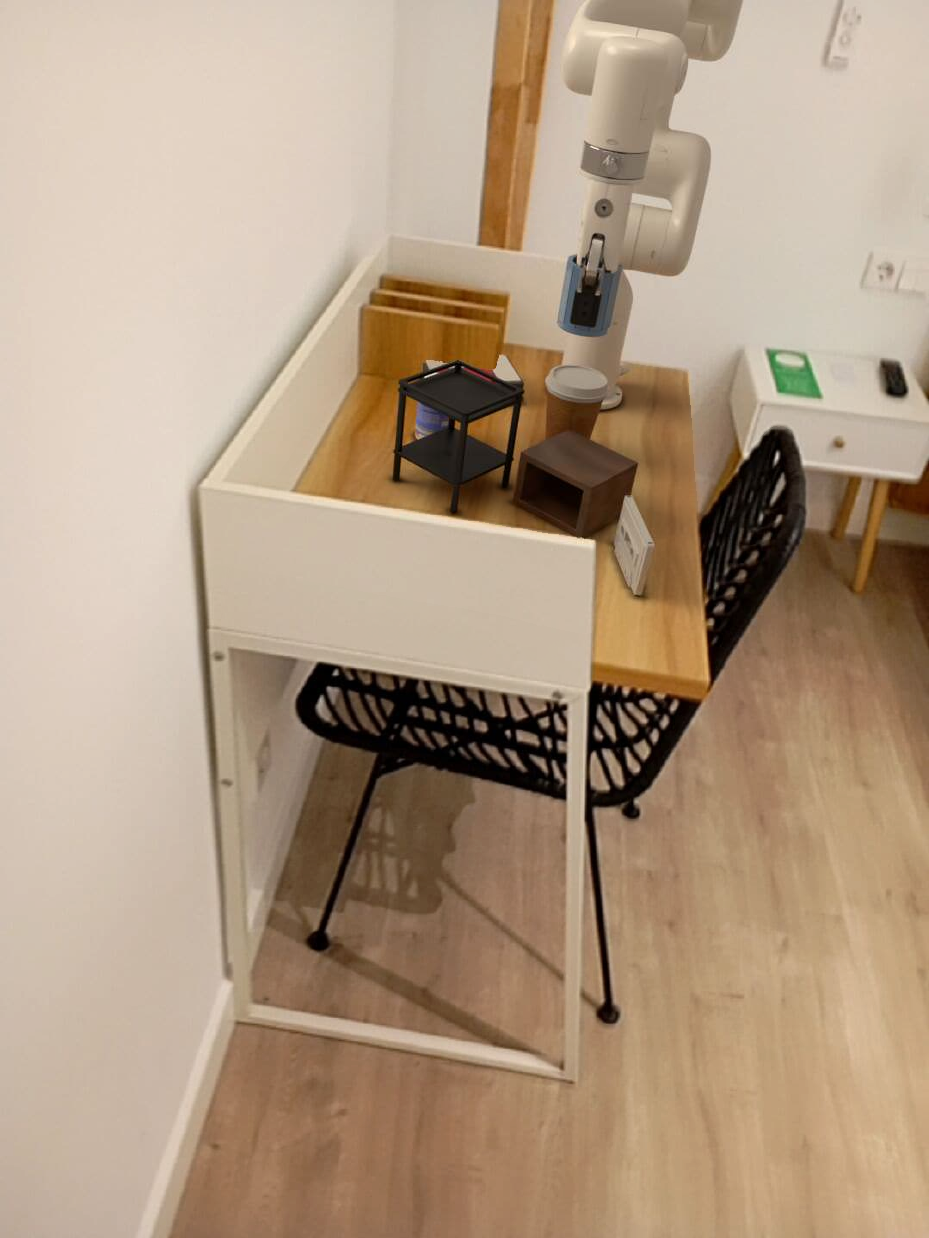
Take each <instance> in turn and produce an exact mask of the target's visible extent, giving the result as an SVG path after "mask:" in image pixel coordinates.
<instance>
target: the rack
mask: <svg viewBox="0 0 929 1238" xmlns="http://www.w3.org/2000/svg"><path fill="white" fill-rule="evenodd" d="M453 366H455V367H454V368H452V369H449V370H446V371H443V372H440V373H438V374H435V375H432V376H429V377H426V378H424V379H422V377H425V376H428V375H431V374H433V373H436V372H439V371H442V370H445V369H447V368H450V367H453ZM462 367H465V368H467V369H469V370H471V371H473V372H475V373H477V374H480V375H482V376H484V377H486V378H488V379H490V380H492V381H495V382H497V383H499V384H501V385H503V386H505V387H507V388H509V389H512V390H514V391H516V392H511V391H509V390H507V389H505V388H503V387H501V386H499V385H497V384H494V383H492V382H490V381H488V380H486V379H484V378H482V377H479V376H477V375H475V374H473V373H471V372H469V371H467V370H465V369H462ZM398 385H399V387H397V392H398V403H397V414H396V417H397V418H396V427H395V442H394V443H395V444H394V449H393V451H392V453H393V467H392V481H393V482H399V481H400V480H401V479H400V478H401V466H402V459H404V460H406V461H408V462H409V463H411V464H413V465H414V466H417V467H419V468H420V469H422V470H424V471H426V472H428V473H429V474H431V475H432V476H433V475H434V476H435V477H437V478H439V479H440V480H443V482H446V483H447V484H450V485H452V491H451V500H450V508H449V512H450V514H451V515H456V514H457V513H458V509H459V502H460V493H461V487H462V486H463V485H465V484H468V483H470V482H472V481H474V480H476V479H478V478H480V477H483V476H485V475H487V474H489V473H491V472H494V471H496V470H497V469H499V468H501V467H503V473H502V479H501V484H500V487H501V488H502V489H508V488H509V486H510V485H509V484H510V478H511V472H512V466H513V462H514V461H515V457H514V452H515V446H516V440H517V434H518V426H519V420H520V414H521V410H522V409H521V407H522V402H523V401H524V396H523V395H524V394H525V391H526V390H525V389H524V388H523V389H521V388H519V387H517V386H514V385H512V384H510V383H508V382H506V381H504V380H501V379H499V378H497V377H495V376H493V375H491V374H489V373H486V372H484V371H482V370H480V369H478V368H476V367H473V366H471V365H469V364H467V363H465V362H463V361H461V360H456V361H453V362H450V363H447V364H444V365H442V366H439V367H436V368H433V369H430V370H427V371H425V372H422V373H421V372H419V373H416V374H414V375H411V376H408V377H405V378H402V379H399V380H398ZM522 396H523V397H522ZM407 397H408V398H410V399H412V400H414V401H415V402H417V403H418V402H420V403H422V404H424V405H426V406H428V407H430V408H432V409H434V410H436V411H438V412H439V413H441V414H443V415H445V416H447V417H449V422H448V427H447V428H445V429H442V430H440V431H437V432H435V433H433V434H430V435H428V436H425V437H423V438H420V439H416V440H413V441H411V442H409V443H406V444H404V445H403V443H404V432H405V431H404V430H405V418H406V407H407ZM512 406H513V407H512ZM510 407H512V413H511V419H510V426H509V432H508V439H507V444H506V445H507V447H506V452H503V451H501V450H499V449H497V448H495V447H494V446H491V445H490V444H487V443H486V442H484V441H481V440H480V439H478V438H476V437H474V436H472V435H470V434H468V430H469V424H471V423H474V422H476V421H479V420H481V419H484V418H486V417H489V416H490V415H493V414H495V413H497V412H500V411H502V410H505V409H507V408H510ZM456 422H457V423H459V429H457V428H456Z"/></svg>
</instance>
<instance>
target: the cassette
mask: <svg viewBox="0 0 929 1238" xmlns="http://www.w3.org/2000/svg"><path fill="white" fill-rule="evenodd" d="M613 546H614V548H615V549H614V550H613V552H614V555H615V557H616V559H617V562H618V564H619V567H620V569H621V573H622V574H623V578H624V580H625V582H626V584H627V586H628V588H629V589H631V590H632V593H633V596H643V591H644V588H645V583H646V579H647V577H648V573H649V568H650V565H651V561H652V559H653V558H652V557H653V553H654V549H655V543H654V540H653V538H652V536H651V534H650V532H649V529H648V528H647V525H646V523H645V521H644V519H643V517H642V515H641V513H640V510H639V508H638V505H637V503H636V501H635V499H634V497H633V495H631V496H625V498H624V502H623V506H622V511H621V515H620V517H619V519H618V523H617V528H616V532H615V536H614V541H613Z"/></svg>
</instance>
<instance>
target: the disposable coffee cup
mask: <svg viewBox="0 0 929 1238" xmlns="http://www.w3.org/2000/svg"><path fill="white" fill-rule="evenodd" d="M544 383H545V385H546V387H545V388H546V389H547V390H546V391H547V392H546V409H545V410H546V411H545V414H546V415H545V436H544V441H545V440H548V439H550V438H552V437H554V436H556V435H558V434H560V433H562V432H565V431H567V430H571V431H573V432H575V433H577V434H579V435H582V436H584V437H586V438H588V439H590V440H591V438H592V437H591V436H592V435H593V434H592V433H593V432H594V429H595V426H596V422H597V419H598V417H599V414H600V411H601V410H600V408H601V405H602V402H603V400H604V398H605V397H606V395H607V394H608V392H609V387H608V381H607V378H606V376H605V375H604V374H602V373H601V372H599V371H597V370H595V369H592V368H589V367H586V366H581V365H571V364H570V365H562V364H559V365H556V366H554V367H552V368H551V369H550V370H549V374H548V375H547V376H546V378H545V380H544Z"/></svg>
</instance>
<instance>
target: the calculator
mask: <svg viewBox="0 0 929 1238" xmlns="http://www.w3.org/2000/svg"><path fill="white" fill-rule="evenodd" d="M498 355H499V358H498V361H497V366H496V368H495V369H493V372H492V371H491V370H485V369H480V370H482V371H484V372H486V373H489V374H491V375H493V376H495V377H497V378H499V379H501V380H504V381H506V382H508V383H510V384H512V385H514V386H517V387H519V388H521V389H523V390H524V386H525V382H524V380H523V379H522V377H521V376H520V374H519V372H518V371H517V370H516V368H515V366H514V364H513V363H512V362H511V359H510V358H509V357H508V356H507V355H505V354H498ZM444 364H447V363H443V362H442V361H440V362H439V361H434V360H426V363H423V372H425V371H427V370H430V369H433V368H436V367H439V366H442V365H444ZM454 367H455V366H453V367H450V368H447V369H445V370H442V371H439V372H436V373H440V372H443V371H446V370H449V369H452V368H454ZM462 369H465V370H467V371H469V372H471V373H473V374H475V375H477V376H479V377H482V378H484V379H486V380H488V381H490V382H492V383H494V384H497V385H499V386H501V387H503V388H505V389H507V390H509V391H511V392H516V391H514V390H512V389H509V388H507V387H505V386H503V385H501V384H499V383H497V382H495V381H492V380H490V379H488V378H486V377H484V376H482V375H480V374H477V373H475V372H473V371H471V370H469V369H467V368H465V367H462ZM420 373H422V372H421V371H420ZM421 379H424V377H422V378H421ZM522 397H523V398H524V396H522Z"/></svg>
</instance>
